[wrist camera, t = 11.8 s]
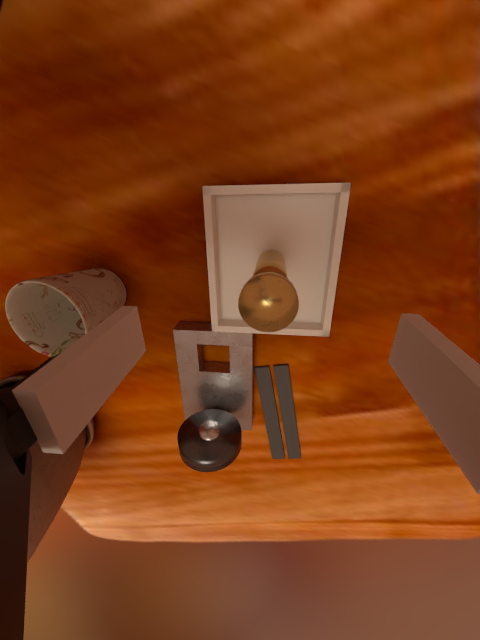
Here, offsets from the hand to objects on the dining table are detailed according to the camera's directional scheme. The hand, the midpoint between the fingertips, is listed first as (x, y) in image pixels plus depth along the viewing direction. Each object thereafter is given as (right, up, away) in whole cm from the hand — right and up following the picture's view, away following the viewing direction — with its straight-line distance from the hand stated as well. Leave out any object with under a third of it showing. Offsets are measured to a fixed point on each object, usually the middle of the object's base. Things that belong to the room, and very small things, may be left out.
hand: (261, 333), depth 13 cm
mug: (-19, +3, +22) cm, 30 cm away
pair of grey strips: (+5, -14, +26) cm, 30 cm away
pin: (+2, +7, +17) cm, 18 cm away
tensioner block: (-4, -7, +25) cm, 26 cm away
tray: (+3, +7, +17) cm, 19 cm away
